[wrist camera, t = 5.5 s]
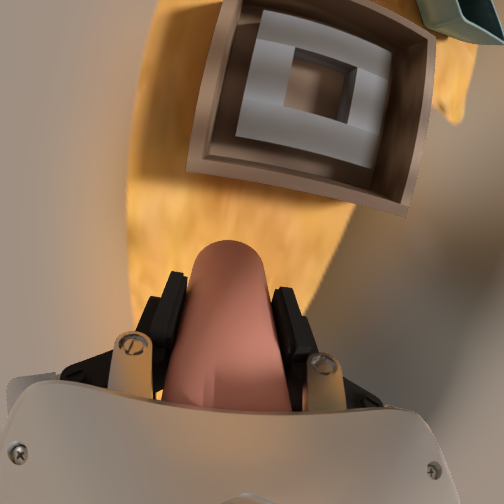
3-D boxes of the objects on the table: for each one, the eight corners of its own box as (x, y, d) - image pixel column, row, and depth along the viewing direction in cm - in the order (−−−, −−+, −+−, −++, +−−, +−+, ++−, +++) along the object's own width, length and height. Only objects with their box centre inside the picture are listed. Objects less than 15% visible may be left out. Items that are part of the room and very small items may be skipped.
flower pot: (415, 36, 19) (463, 20, 11) (397, -18, 15) (435, -43, 7) (462, 53, 19) (508, 46, 11) (446, 1, 15) (486, -13, 7)
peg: (197, 234, 14) (134, 474, 3) (270, 246, 15) (334, 480, 4) (190, 297, 16) (154, 504, 5) (256, 306, 16) (281, 511, 5)
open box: (235, 0, 17) (235, -36, 11) (398, 50, 20) (436, 36, 13) (198, 162, 24) (185, 171, 18) (370, 198, 27) (405, 217, 20)
